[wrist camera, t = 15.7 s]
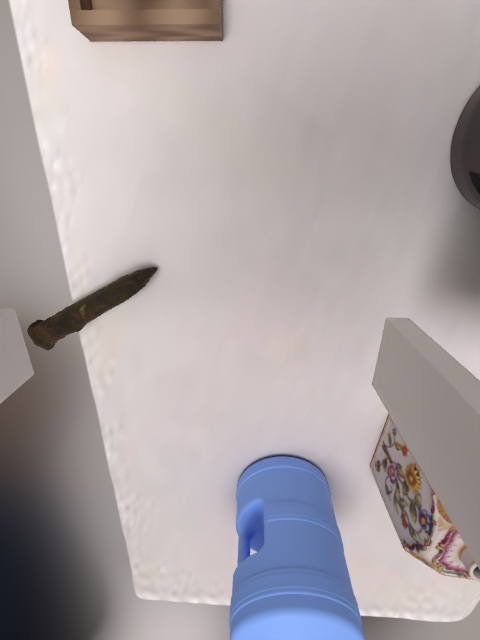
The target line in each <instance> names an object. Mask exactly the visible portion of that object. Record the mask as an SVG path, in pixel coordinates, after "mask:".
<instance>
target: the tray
mask: <svg viewBox="0 0 480 640" xmlns="http://www.w3.org/2000/svg"><path fill="white" fill-rule="evenodd" d="M68 2H69V9H70V15H71V21H72V25H73V26H74V27H75V28H76V29H77V30H78V31H80V32H81V33H82V34H83V35H84V36H85V37H86V38H88V39H89V40H90V41H223V3H222V0H68Z"/></svg>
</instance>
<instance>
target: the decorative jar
mask: <svg viewBox="0 0 480 640" xmlns="http://www.w3.org/2000/svg"><path fill="white" fill-rule="evenodd" d="M370 467H371V470H372V473H373V476H374V478H375V481H376V483H377V486H378V488H379V491H380V494H381V496H382V498H383V501H384V503H385V506H386V508H387V510H388V513H389V516H390V518H391V520H392V522H393V525H394V527H395V530H396V532H397V534H398V537H399V539H400V542H401V544H402V546H403V548H404V550H405V551H407V552H408V553H410V554H411V555H412V556H414V557H415V558H417V559H418V560H420V561H422V562H423V563H425V564H426V565H427V566H429V567H431V568H432V569H434V570H435V571H437V572H438V573H440V574H441V575H445V576H451V577H458V578H465V579H473V580H476V581H478V582H480V570H479V568H478V566H477V564H476V563H475V561H474V559H473V558H472V556H471V554H470V552H469V551H468V549H467V547H466V545H465V544H464V542H463V540H462V539H461V537H460V535H459V533H458V532H457V530H456V528H455V527H454V525H453V523H452V521H451V520H450V518H449V516H448V514H447V513H446V511H445V509H444V508H443V506H442V504H441V502H440V501H439V499H438V497H437V496H436V494H435V492H434V490H433V489H432V487H431V485H430V483H429V482H428V480H427V478H426V477H425V475H424V473H423V471H422V470H421V468H420V466H419V465H418V463H417V461H416V459H415V458H414V456H413V454H412V452H411V451H410V449H409V447H408V446H407V444H406V442H405V440H404V439H403V437H402V435H401V434H400V432H399V430H398V428H397V427H396V425H395V423H394V422H393V420H392V418H391V416H390V415H389V416H388V419H387V421H386V424H385V427H384V430H383V433H382V436H381V438H380V440H379V443H378V446H377V448H376V451H375V454H374V457H373V459H372V462H371V464H370Z"/></svg>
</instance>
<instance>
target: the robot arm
mask: <svg viewBox="0 0 480 640" xmlns="http://www.w3.org/2000/svg"><path fill="white" fill-rule="evenodd" d="M451 167H452V173H453V177H454V180H455V183H456V185H457V187H458V189H459V191H460V192H461V194H462V195H463V196H464V197H465V198H466V199H467V200H468V201H469V202H470V203H471V204H473V205H474V206H476V207H478V208H480V87H479V88H478V89H477V90H476V92H475V93H474V94H473V96H472V97H471V99H470V100H469V102H468V104H467V105H466V107H465V109H464V111H463V113H462V115H461V117H460V119H459V121H458V124H457V127H456V130H455V133H454V137H453V142H452V148H451ZM33 374H34V372H33V368H32V365H31V362H30V358H29V355H28V352H27V349H26V346H25V342H24V339H23V335H22V332H21V329H20V325H19V322H18V319H17V315H16V312H15V309H0V403H2V401H4V400H5V399H6V398H7V397H8V396H10V395H11V394H12V393H13V392H14V391H15V390H16V389H17V388H19V387H20V386H21V385H22V384H23V383H24V382H25V381H27V380H28V379H29V378H30V377H31V376H32V375H33ZM372 385H373V387H374V389H375V391H376V392H377V394H378V396H379V397H380V399H381V401H382V403H383V404H384V406H385V408H386V409H387V411H388V413H389V415H390V416H391V418H392V420H393V422H394V423H395V425H396V427H397V428H398V430H399V432H400V434H401V435H402V437H403V439H404V440H405V442H406V444H407V446H408V447H409V449H410V451H411V452H412V454H413V456H414V458H415V459H416V461H417V463H418V465H419V466H420V468H421V470H422V471H423V473H424V475H425V477H426V478H427V480H428V482H429V483H430V485H431V487H432V489H433V490H434V492H435V494H436V496H437V497H438V499H439V501H440V502H441V504H442V506H443V508H444V509H445V511H446V513H447V514H448V516H449V518H450V520H451V521H452V523H453V525H454V527H455V528H456V530H457V532H458V533H459V535H460V537H461V539H462V540H463V542H464V544H465V545H466V547H467V549H468V551H469V552H470V554H471V556H472V558H473V559H474V561H475V563H476V564H477V566H478V568H479V570H480V381H479V380H478V379H477V378H476V377H475V376H474V375H473V374H471V373H470V372H469V371H468V370H467V369H466V368H465V367H464V366H462V365H461V364H460V363H459V362H458V361H457V360H456V359H454V358H453V357H452V356H451V355H450V354H449V353H448V352H447V351H445V350H444V349H443V348H442V347H441V346H440V345H439V344H437V343H436V342H435V341H434V340H433V339H432V338H431V337H430V336H428V335H427V334H426V333H425V332H424V331H423V330H422V329H420V328H419V327H418V326H417V325H416V324H415V323H414V322H413V321H411V320H410V319H409V318H386V321H385V326H384V330H383V335H382V340H381V345H380V349H379V354H378V359H377V363H376V368H375V373H374V378H373V382H372Z"/></svg>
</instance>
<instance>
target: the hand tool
mask: <svg viewBox="0 0 480 640" xmlns="http://www.w3.org/2000/svg"><path fill="white" fill-rule="evenodd" d="M157 269H158V268H155V267H154V268H147V269H144V270H141V271H140V270H138V271H136V272H134V273H132V274H129V275H126V276H124V277H121V278H119V279H118V280H116V281H114V282H113V283H111V284H109V285H108V286H106V287H104V288H102V289H100V290H98V291H96V292H94V293H93V294H91V295H89V296H87V297H85V298H84V299H82V300H80V301H78V302H77V303H75V304H72V305H71V306H69V307H66V308H65V309H64V310H62V311H60V312H58V313H57V314H56V315H54V316H52V317H50V318H48V319H46V320H45V321H43V320H37V321H36V322H34V323H32V324H31V325H30V326H29V328H28V334H29V336H30V338H31V339H32V340H33V342H34V344H35V345H37V346H40V347H42V348H44V349H46V350H50V349H52V348H53V347H54V345H55V343H56V342H57V341H58V340H59V339H62V338H64V337H65V336H66V335H68V334H71V333H74V332H75V331H76V332H78V331H80V330H81V329H82V328H83V327H84V326H85V324H86V323H88V322H90V321H91V320H93V319H95V318H97V317H98V316H100V315H101V314H103V313H104V312H106V311H108V310H110V309H112V308H113V307H115V306H117V305H119V304H121V303H123V302H125V301H126V300H128V299H129V298H130V297H132V296H133V295H135V294H136V293H137V292H138V291H139V290H140V289H142V288H143V287H144V286H146V283H147V282H149V279H150V278H151V277H152V275H153V274H154V273H155V272H156V271H157Z"/></svg>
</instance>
